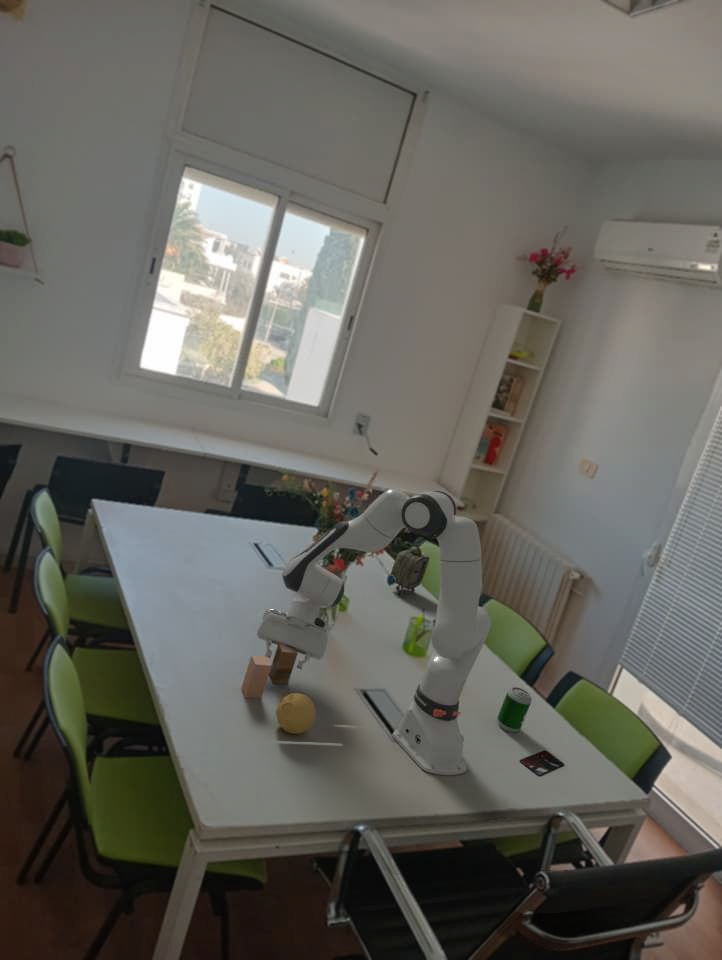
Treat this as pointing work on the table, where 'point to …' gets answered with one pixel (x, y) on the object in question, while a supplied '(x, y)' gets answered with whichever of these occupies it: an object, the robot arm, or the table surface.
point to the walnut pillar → (283, 664)
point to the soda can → (514, 709)
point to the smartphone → (541, 763)
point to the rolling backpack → (410, 568)
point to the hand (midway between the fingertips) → (283, 662)
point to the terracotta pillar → (256, 677)
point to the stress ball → (296, 713)
